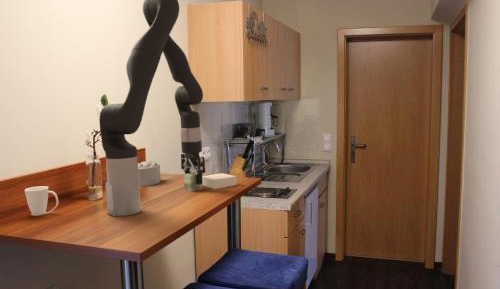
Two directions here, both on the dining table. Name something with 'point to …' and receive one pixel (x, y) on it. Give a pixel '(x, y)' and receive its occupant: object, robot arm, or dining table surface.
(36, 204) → the cup
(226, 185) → the base block
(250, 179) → the dining table surface
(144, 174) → the lumpy-topped squat cylinder
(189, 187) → the sage block
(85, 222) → the dining table surface
